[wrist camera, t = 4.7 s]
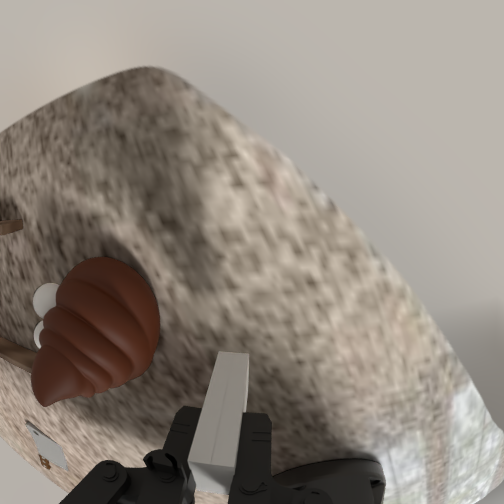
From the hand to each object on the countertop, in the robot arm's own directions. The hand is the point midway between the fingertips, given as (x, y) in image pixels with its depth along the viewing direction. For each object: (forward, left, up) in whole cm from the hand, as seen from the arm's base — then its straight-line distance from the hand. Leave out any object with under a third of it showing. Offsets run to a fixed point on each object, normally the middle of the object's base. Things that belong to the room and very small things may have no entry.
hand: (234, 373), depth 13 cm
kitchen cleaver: (+37, +37, -5) cm, 53 cm away
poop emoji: (+10, 0, -5) cm, 11 cm away
